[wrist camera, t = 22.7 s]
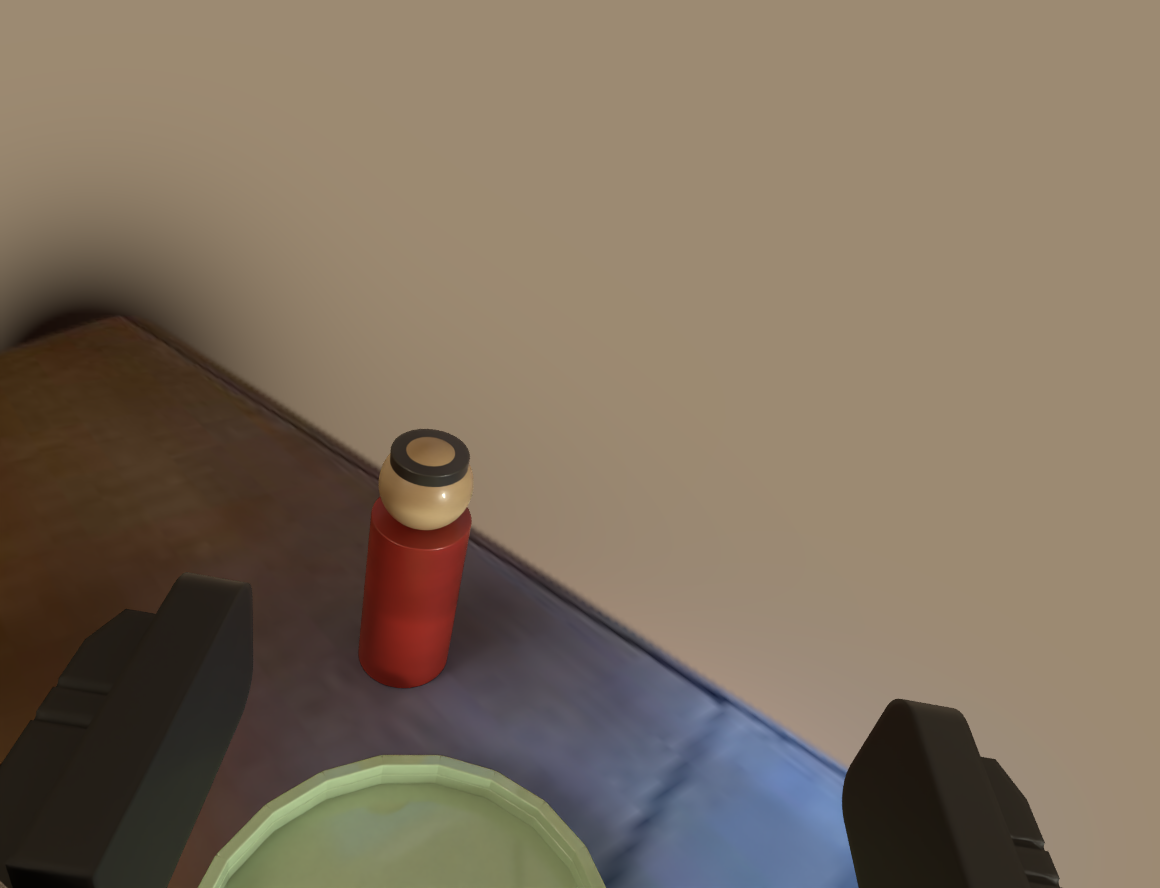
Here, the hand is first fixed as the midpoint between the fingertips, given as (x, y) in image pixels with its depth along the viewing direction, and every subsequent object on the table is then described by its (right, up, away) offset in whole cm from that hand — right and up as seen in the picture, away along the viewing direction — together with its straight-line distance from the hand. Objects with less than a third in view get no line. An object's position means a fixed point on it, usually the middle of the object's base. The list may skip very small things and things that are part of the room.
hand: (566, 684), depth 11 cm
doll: (-9, -8, +37) cm, 40 cm away
